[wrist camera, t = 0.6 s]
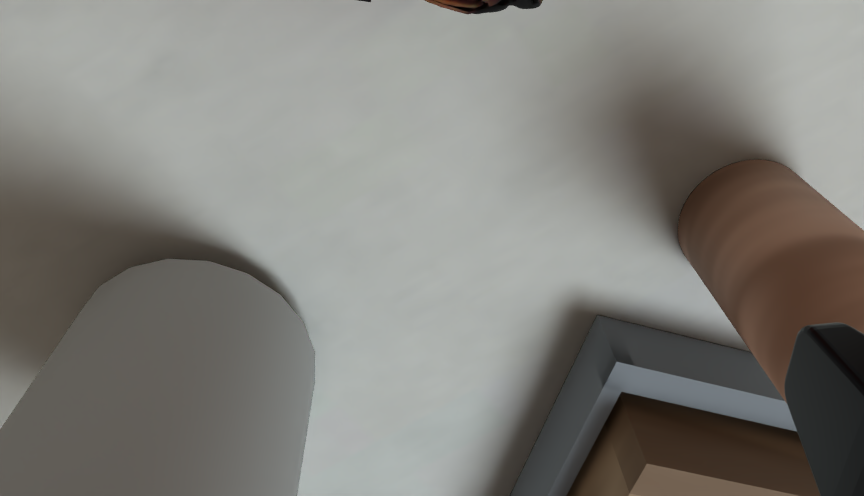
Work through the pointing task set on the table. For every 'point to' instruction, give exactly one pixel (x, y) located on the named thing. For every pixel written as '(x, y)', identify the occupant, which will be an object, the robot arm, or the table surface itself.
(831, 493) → the robot arm
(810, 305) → the handle peg
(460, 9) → the dragon fruit
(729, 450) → the crate
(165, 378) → the can
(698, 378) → the bay
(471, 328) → the table surface
